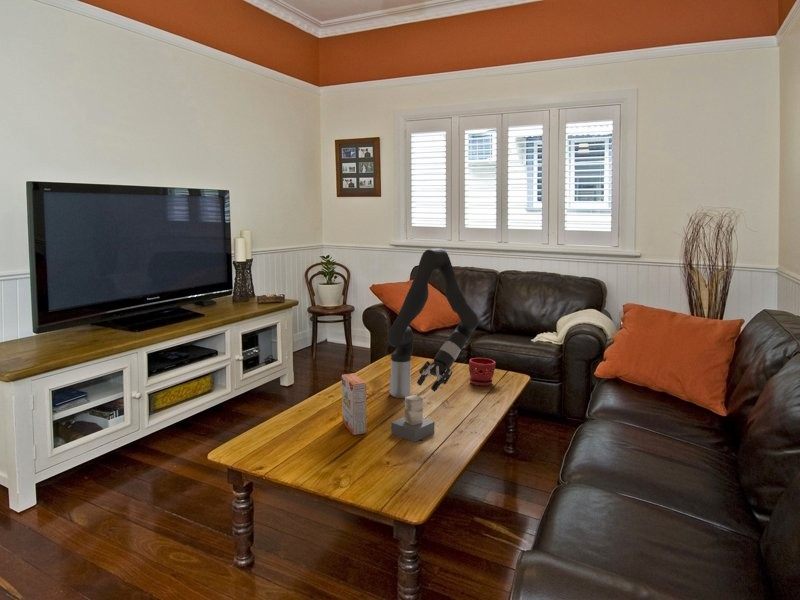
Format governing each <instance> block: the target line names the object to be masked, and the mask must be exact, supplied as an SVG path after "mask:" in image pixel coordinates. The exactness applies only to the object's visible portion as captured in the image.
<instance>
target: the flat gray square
mask: <svg viewBox="0 0 800 600" xmlns="http://www.w3.org/2000/svg"><path fill="white" fill-rule="evenodd" d="M435 423H436V422H435V421H434V420H430V419H428V418H425V417H423V423H420V424H416V425H410V424H408V423H407V422H405V416H404V417H400V418H398V419H396V420H394V421H391V427H390V428H391V431H390V432H391V434H392V435H395V436H397V437H400V438H402V439H405V440H408V441H411V442H414V443H416V442H418V441H420V440H422V439H424V438H426V437H428V436H431V435H432V433H433V434H435ZM430 434H431V435H430Z"/></svg>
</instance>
